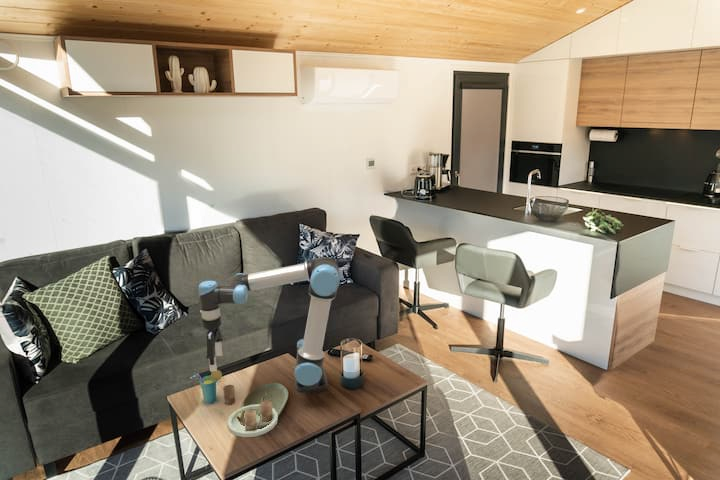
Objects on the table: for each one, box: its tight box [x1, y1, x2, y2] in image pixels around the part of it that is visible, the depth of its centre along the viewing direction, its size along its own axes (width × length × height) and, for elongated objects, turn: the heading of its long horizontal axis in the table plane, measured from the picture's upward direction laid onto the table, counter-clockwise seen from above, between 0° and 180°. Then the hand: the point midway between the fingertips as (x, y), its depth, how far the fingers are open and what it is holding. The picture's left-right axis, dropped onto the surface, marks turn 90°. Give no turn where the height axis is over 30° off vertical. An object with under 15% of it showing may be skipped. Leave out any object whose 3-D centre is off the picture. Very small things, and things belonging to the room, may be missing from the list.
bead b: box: [244, 410, 257, 431], centre depth 198 cm, size 5×5×8 cm
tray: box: [227, 403, 279, 438], centre depth 204 cm, size 20×20×2 cm
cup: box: [189, 369, 223, 405], centre depth 219 cm, size 14×8×15 cm, turn 128°
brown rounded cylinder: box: [259, 400, 273, 422], centre depth 204 cm, size 5×5×8 cm
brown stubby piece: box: [222, 384, 236, 406], centre depth 218 cm, size 5×5×8 cm
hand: (216, 363), depth 213 cm, fingers open, 13 cm apart
